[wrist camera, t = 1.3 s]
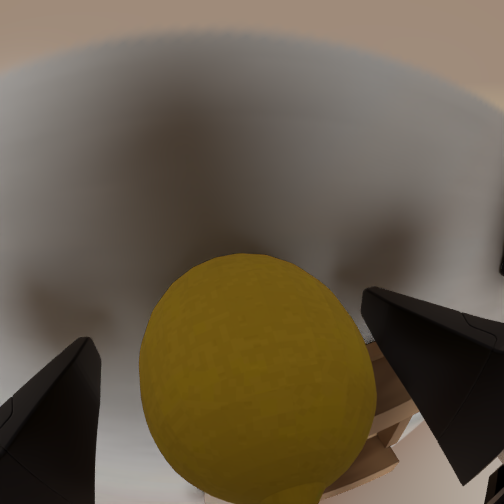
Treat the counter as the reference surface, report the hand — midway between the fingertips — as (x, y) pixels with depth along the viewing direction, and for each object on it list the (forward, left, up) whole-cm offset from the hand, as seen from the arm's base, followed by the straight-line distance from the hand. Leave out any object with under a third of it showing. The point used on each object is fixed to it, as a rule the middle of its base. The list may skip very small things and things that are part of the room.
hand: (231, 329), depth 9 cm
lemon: (0, 0, -2) cm, 2 cm away
